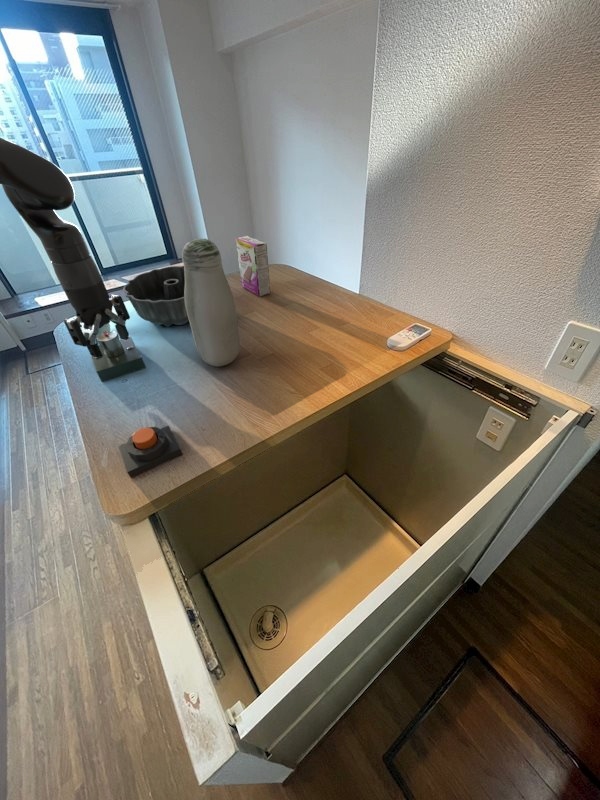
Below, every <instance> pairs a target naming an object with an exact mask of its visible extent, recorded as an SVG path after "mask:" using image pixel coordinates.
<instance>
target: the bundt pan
mask: <svg viewBox="0 0 600 800" xmlns="http://www.w3.org/2000/svg"><path fill="white" fill-rule="evenodd" d="M184 290H185V272H184V265H172V266H171V265H169V266H165V267H161V268H154V269H152V270H150V271H146V272H142V273H139V274H137V275H135V276H134V277H133V279H129V280H127V284H125V285H124V286H123V288H122V291H123V292H124V294H125V297H126V298H127V299H128V300H129V302H130V303H131V305H132V307H133V309H134V311H135V312H136V314H137V315H138V317H140V318H141V319H142V320H144V321H147V322H149V323H151V324H153V325H164V326H165V327H171V326H172V325H176V326H181V325H185V324H187V323H188V322H189V319H188V315H187V311H186V307H185V299H184Z"/></svg>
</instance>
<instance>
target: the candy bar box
mask: <svg viewBox="0 0 600 800" xmlns="http://www.w3.org/2000/svg"><path fill="white" fill-rule="evenodd" d="M235 247H236V252H237V259H238V266H239V275H240V282H241V288H243V289H245V291H246V290H247V291H248V292H250V293H252V294H254V295H255V296H257V297H259V298H262V297H264V296H266V295H270V294H271V285H270V283H271V282H270V271H269V270H270V269H269V258H268V245H267V243H266V242H264V241H262V240H259V239H257V238H254V237H252V236H250V235H244V236H240V237H236V238H235Z"/></svg>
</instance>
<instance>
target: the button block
mask: <svg viewBox="0 0 600 800" xmlns="http://www.w3.org/2000/svg"><path fill="white" fill-rule="evenodd" d="M145 428H151V429H153V430H154V432H155V434H156V436H157V442H156V443H155V445H153V446H152V447H150V448H148V449H138V448H137V447H136V445H135V443H134V442H133V439H132V437H133V434H132V435H130V436H129V437H128V438H127V440H126V442H124V443H122V444H119V445H118V449H119V452H120V455H121V458H122V461H123V464H124V467H125V470H126V473H127V474H128V476H129V478H130V479H132V478H134V477H137V476H139V475H141V474H143V473H146V472H148V471H149V470H152V469H154V468H156V467H158V466H161V465H163V464H165V463H168V462H169V461H171V460H172V461H173V460H174V459H176V458H178V457H180V456H183V452H182V449H181V447H180V445H179V442H178V440H177V439H176V437H175V435H174V434H173V431H172V430H171V427H170V426H169V425H166V426H164V427H161V428H159V427H158V426H149V427H145Z"/></svg>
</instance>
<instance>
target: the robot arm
mask: <svg viewBox="0 0 600 800" xmlns="http://www.w3.org/2000/svg"><path fill="white" fill-rule="evenodd" d="M0 185H1V186H2V189H3V191H4V193H5V196H6V198H7V199H8V201H9V203H11V205H12V206H13V207H14V209H15V210H16V212H17V213H18V215H20V216H21V218H22V219H23V221H24V222H25V223H26V225H28V227H29V228H30V229H31V230H32V232H33V233H34V234H35V235H36V236H37V237H38V239H39V240H40V242H41V244H42V246H43V249H44V251H45V253H46V255H47V257H48V259H49V261H50V262H51V265H52V267H53V271H54V274H55V276H56V278H57V280H58V282H59V284H60V285H61V289H62V290H63V292H64V293H65V295H66V297H67V300H68V301H69V303H70V305H71V307H72V308H73V309H74V310H75V316H74V317H71V318H65V319H64V320H63V323H64V325H65V328H66V329H67V331H68V333H69V335H70V338H71V339H72V342H73V344H74V345H76V346H81V347H86V348H87V350H88V352H89V354H91V355H92V356H94V357H97V358H101V357H103V355H102V353H101V351H100V348H99V346H98V345H99V343H97V342H96V341H97V338H96V335H97V334H98V331H99V328H101V327H103V326H104V325H105V324H108V323H109V324H110V323H113V324H114V327H115V330H116V333H117V335H118V337H119V339H124V340H127V339H129V337H130V334H129V331H128V329H127V325H126V323H127V320H130V318H131V316H130V313H129V311H128V309H127V307H126V305H125V302H124V300H123V297H122V296H121V295H115V294H110V295H109V292H108V290H107V288H106V285H105V283H104V281H103V278H102V276H101V272H100V271H99V268H98V266H97V264H96V262H95V261H94V259H93V257H92V255H91V253H90V251H89V247H88V245H87V243H86V241H85V238H84V236H83V234H82V232H81V230H80V228H79V227H78V226H77V225H75V223H74V224H73V223H71V222H68V221H66V220H63V219H62V218H61V217H60V216H59V215H58V214H57V213H56V211H64V210H66V209H69V208H70V207H71V206H72V205H73V204H74V201H75V196H76V195H75V189H74V187H73V184H72V182H71V180H70V178H69V177H68V176H67V175H66V173H65V172H64V171H63V170H62V169H61V168H60V167H59V166H58V165H56V164H55V163H54V162H52V161H50V160H49V159H48V158H45V157H43V156H42V155H40V154H38V153H36V152H33V150H30V149H27V148H26V147H23V146H22V145H19V144H18V143H15V142H12V141H10V140H7V139H5V138H4V137H1V136H0ZM113 308H114V311H115V312H116V313H115V312H113ZM81 322H82V325H81ZM89 326H90V327H92V330H89ZM89 334H90V336H89ZM91 355H90V356H91Z"/></svg>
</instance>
